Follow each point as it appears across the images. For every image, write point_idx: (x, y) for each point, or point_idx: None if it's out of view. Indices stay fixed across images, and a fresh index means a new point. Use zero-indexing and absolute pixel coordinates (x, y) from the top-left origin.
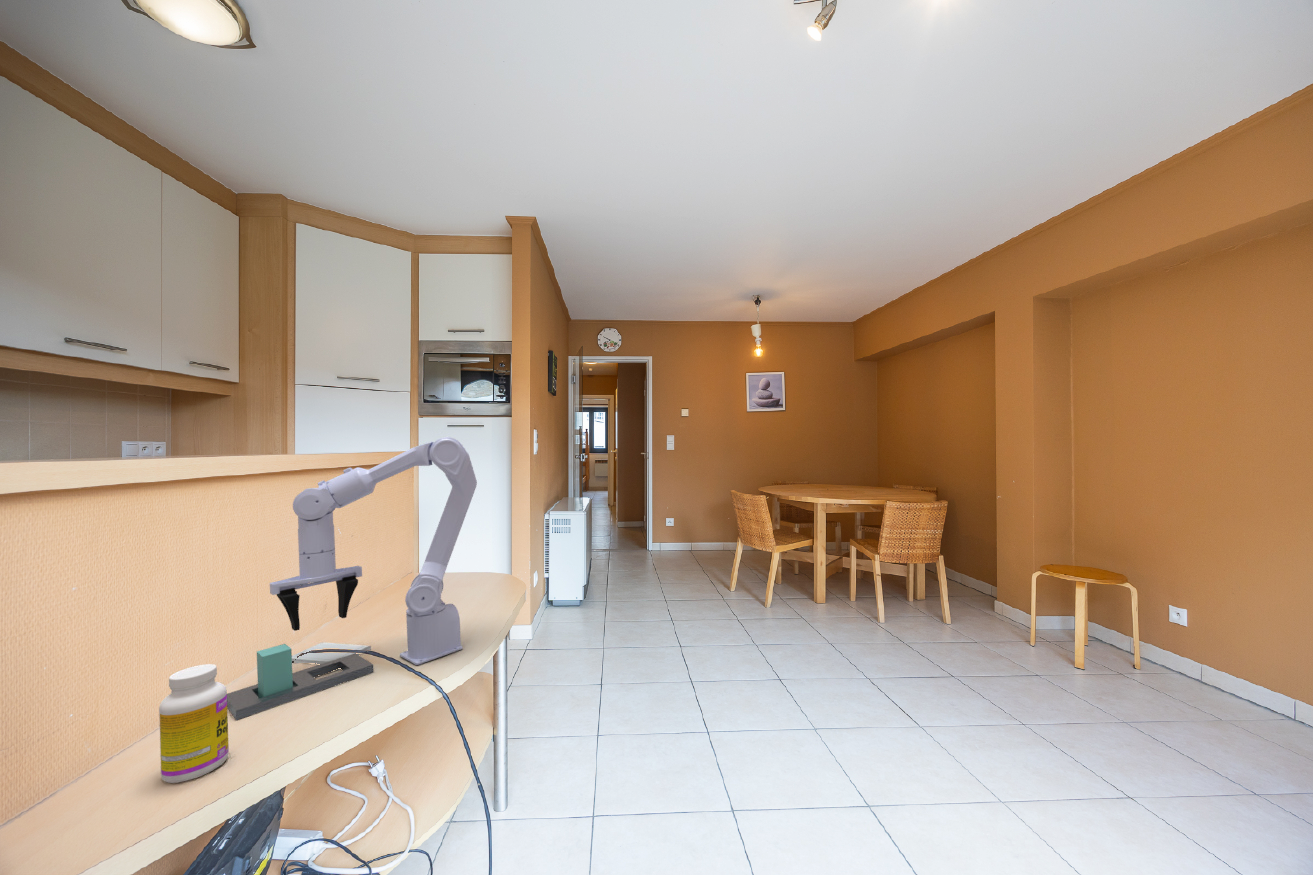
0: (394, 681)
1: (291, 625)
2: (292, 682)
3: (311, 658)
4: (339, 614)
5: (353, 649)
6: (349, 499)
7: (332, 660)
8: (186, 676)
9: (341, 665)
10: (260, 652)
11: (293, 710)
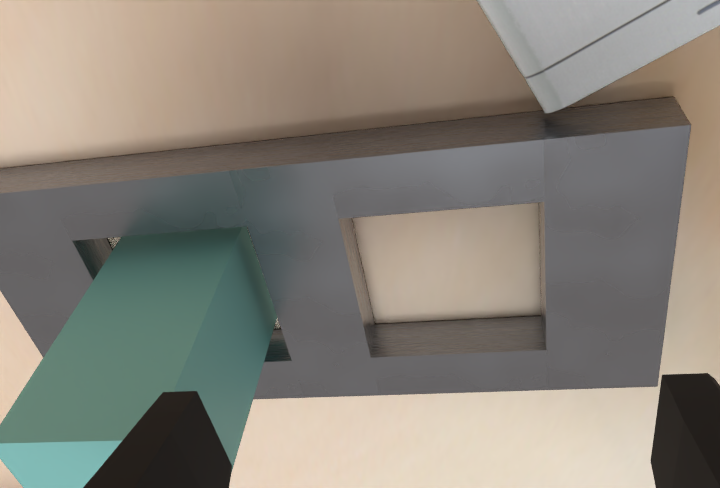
0: (653, 482)
1: (141, 419)
2: (261, 366)
3: None
4: (666, 417)
5: None
6: None
7: (528, 62)
8: None
9: (541, 212)
10: (25, 476)
11: (280, 436)
